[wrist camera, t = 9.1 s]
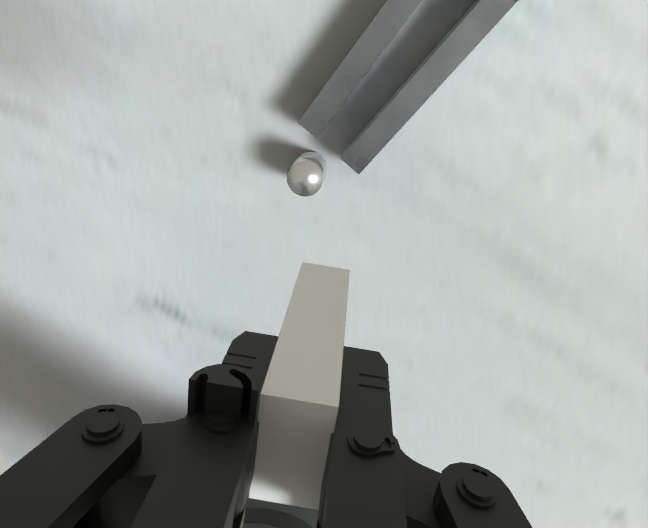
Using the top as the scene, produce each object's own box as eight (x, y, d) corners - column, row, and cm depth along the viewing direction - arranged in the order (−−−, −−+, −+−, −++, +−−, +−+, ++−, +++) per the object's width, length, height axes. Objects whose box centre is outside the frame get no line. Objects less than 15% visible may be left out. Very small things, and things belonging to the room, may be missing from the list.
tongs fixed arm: (326, 202, 37) (322, 216, 34) (287, 169, 36) (279, 180, 33) (560, -55, 29) (581, -66, 26) (516, -105, 28) (532, -122, 25)
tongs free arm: (324, 134, 35) (319, 141, 32) (302, 117, 34) (297, 122, 32) (510, -110, 28) (523, -124, 26) (486, -134, 28) (497, -151, 25)
